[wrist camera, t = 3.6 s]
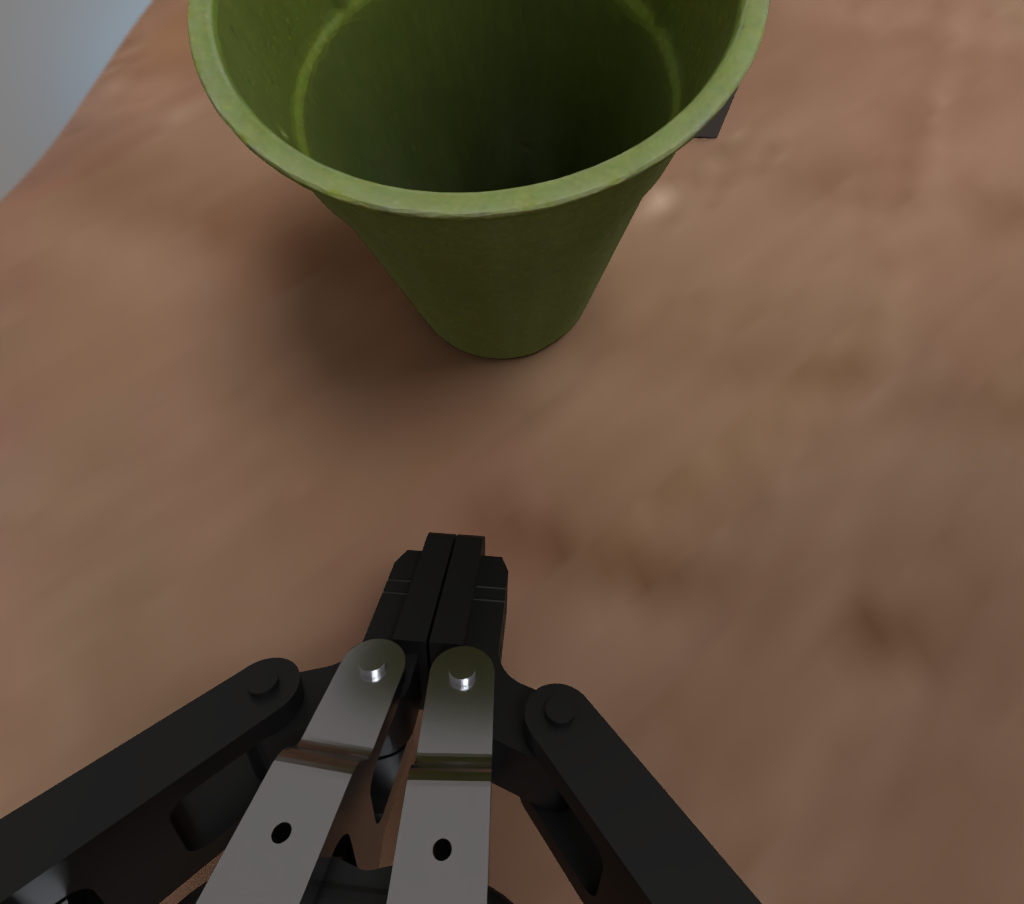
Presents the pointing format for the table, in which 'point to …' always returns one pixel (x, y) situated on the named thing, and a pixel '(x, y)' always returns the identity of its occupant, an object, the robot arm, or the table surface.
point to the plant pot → (477, 133)
